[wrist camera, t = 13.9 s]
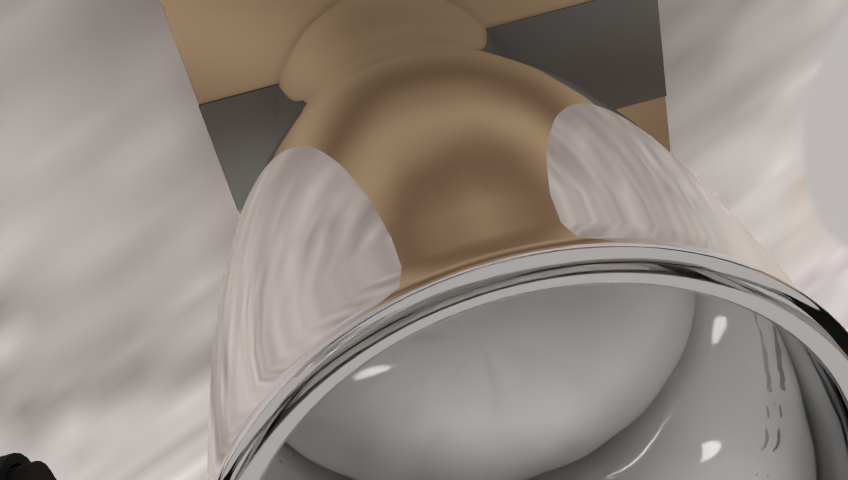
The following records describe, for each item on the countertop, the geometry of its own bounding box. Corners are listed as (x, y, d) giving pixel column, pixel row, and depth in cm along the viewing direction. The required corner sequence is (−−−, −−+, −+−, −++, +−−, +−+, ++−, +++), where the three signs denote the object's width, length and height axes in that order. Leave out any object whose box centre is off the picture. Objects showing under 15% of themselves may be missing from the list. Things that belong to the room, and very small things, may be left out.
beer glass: (247, -32, 19) (108, 248, 5) (534, -34, 20) (1027, 203, 6) (269, 235, 22) (216, 838, 8) (517, 223, 23) (826, 752, 9)
